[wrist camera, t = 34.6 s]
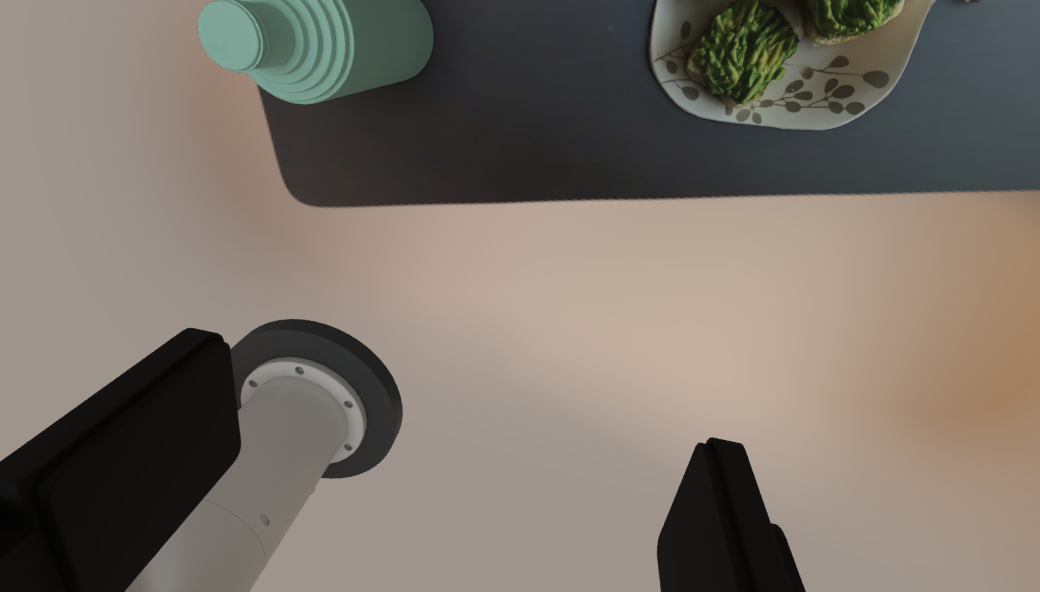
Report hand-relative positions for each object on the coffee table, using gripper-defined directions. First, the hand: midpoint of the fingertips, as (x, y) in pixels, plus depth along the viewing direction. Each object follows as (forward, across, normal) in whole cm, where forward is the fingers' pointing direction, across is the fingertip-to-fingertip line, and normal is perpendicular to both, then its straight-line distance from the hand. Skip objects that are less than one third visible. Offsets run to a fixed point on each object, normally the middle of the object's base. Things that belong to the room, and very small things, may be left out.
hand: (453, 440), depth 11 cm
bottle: (+33, +14, -5) cm, 36 cm away
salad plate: (+34, -12, -12) cm, 38 cm away
